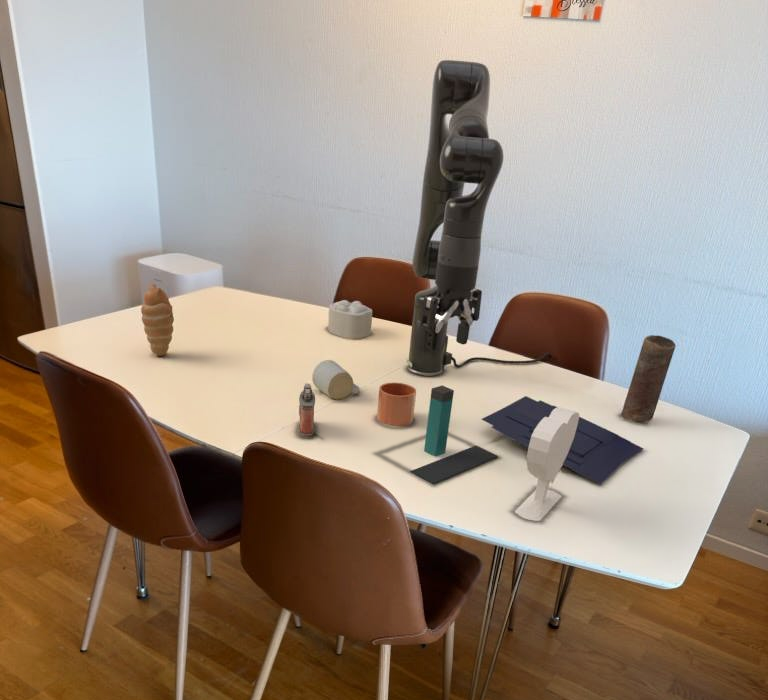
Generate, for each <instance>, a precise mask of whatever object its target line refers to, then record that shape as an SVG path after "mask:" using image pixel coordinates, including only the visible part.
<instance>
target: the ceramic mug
mask: <svg viewBox="0 0 768 700" xmlns="http://www.w3.org/2000/svg"><path fill="white" fill-rule="evenodd" d="M311 376H312V377H311V379H312V383H313V386H314V387H315V388H316V389H318V390H319V391H320V392H322V393H323V394H325V395H326V396H327V397H329V398H331V399H333V400H337V401H338V400H343V399H346V398H347V397H348V396H349V395H350V394H354V395H357V394H358V393H359V392H360V386H358V385H357V384H355V383H354V380H353V379H354V378H353V377H352V375H351V374H350V373H349V372H348V371H347V370H346V369H344V367H342V366H341V365H340V364H339V363H337V362H336V361H334V360H333V359H325V360H322V361H320V362H319V363H318V364H316V366H315V368H314V369H313V372H312V375H311Z"/></svg>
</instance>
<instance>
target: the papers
mask: <svg viewBox="0 0 768 700" xmlns="http://www.w3.org/2000/svg"><path fill="white" fill-rule="evenodd" d="M557 407H558V406H556V405H554V404H553V405H552V404H550V403H548V402H545V401H543V400H540V399H539V400H535V399H533V398H531V397H529V396H528V395H524V396H523V397H521V398H519V399H518V400H516V401H514V402H512V403H510V404H508V405H506V406H505V407H502V408H501V409H498V410H496V411H494V412H493V413H491V414H489V415H486V416H484V417H482V418H481V420H482V421H483V422H486V423H487V424H489V425H491V428H492V429H494V430H495V431H498V432H499V433H501V434H502V435H504V436H505V437H507V438H509V439H510V440H512V441H514V442H515V443H520V444H522V445H523V446H525V447H527V448H528V447H529V443H530V439H531V436H532V434H533V432H534V430H535V428H536V427H537V425H538V424H539V422H540V421H541V420H542V419H543V418H544V417H548V418H549V416H550V414H551V412H552V411H553V410H554V409H555V408H557ZM642 450H644V448H643V447H642V446H640V445H638V444H636V443H633V442H632V441H630V440H628V439H627V438H624V437H622V436H620V435H619V434H618V433H615V432H612V431H610V430H608V429H606V428H604V427H602V426H600V425H598V424H597V423H594V422H592V421H590V420H587V419H586V418H583V417H581V416H579V420H578V425H577V429H576V432H575V436H574V439H573V442H572V444H571V447H570V449H569V452H568V454H567V456H566V458H565V460H564V463H563V465H562V466H565V467H566V468H569V470H571V471H573V472H575V473H577V474H579V475H580V476H582V477H585V478H587V479H588V480H591V481H594V482H595V483H597V484H599V485H602V484H603V482H605V481H606V480H607V479H608V478H609V477H610V476H611V475H612V474H613V473H614V472H615V471H616V470H617V469H618V468H619V467H620V466H621V465H622V464H624V463H626V462H627V461H628V460H629V459H632V458H633V457H634V456H636V455H637V454H638V453H641V451H642Z"/></svg>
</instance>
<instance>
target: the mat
mask: <svg viewBox="0 0 768 700" xmlns="http://www.w3.org/2000/svg"><path fill="white" fill-rule="evenodd" d="M498 457H499V455H497V454H495V453H493V452H491V451H489V450H486V449H484V448H483V447H480V446H479V445H473V446H471V447H469V448H466V449H463V450H460V451H458V452H455V453H453V454H450V455H447V456H445V457H443V458H440V459H437V460H435V461H433V462H430V463H428V464H425V465H422V466H420V467H418V468H415V469H411V470H409V473H412V474H413V475H415V476H417V477H419V478H421V479H423V480H425V481H426V482H428V483H430V484H432V485H436V484H438V483H441V482H444V481H446V480H448V479H450V478H453V477H455V476H457V475H460V474H462V473H464V472H466V471H467V472H468V471H470V470H471V469H474V468H477V467H479V466H481V465H483V464H486V463H488V462H490V461H493V460H495V459H497V458H498Z"/></svg>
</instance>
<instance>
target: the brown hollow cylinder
mask: <svg viewBox="0 0 768 700" xmlns="http://www.w3.org/2000/svg"><path fill="white" fill-rule="evenodd" d="M676 348H677V347H676V343H675V342H674V341H673V340H672V339H671V338H668V337H665V336H662V335H656V334H655V335H654V334H651V335H647V336H645V337H644V339H643V341H642V345H641V349H640V351H639V355H638V357H637V361H636V364H635V367H634V371H633V375H632V377H631V380H630V381H631V382H630V384H629V388H628V391H627V393H626V397H625V400H624V403H623V405H622V409H621V414H620V415H621V416H622V417H623V418H624V419H625V420H630V421H633V422H636V423H641V424H642V423H647V422H650V421H651V420H653V418H654V416H655V412H656V409H657V406H658V403H659V400H660V396H661V393H662V390H663V387H664V384H665V381H666V380H665V379H666V377H667V374H668V371H669V368H670V365H671V363H672V359H673V356H674V352H675V349H676Z"/></svg>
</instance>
